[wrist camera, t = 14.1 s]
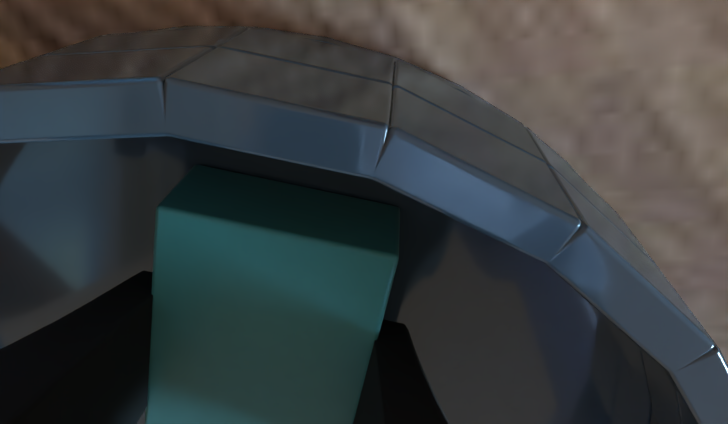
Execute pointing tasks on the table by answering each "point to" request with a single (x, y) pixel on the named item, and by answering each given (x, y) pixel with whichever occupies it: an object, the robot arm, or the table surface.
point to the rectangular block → (265, 300)
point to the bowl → (359, 180)
